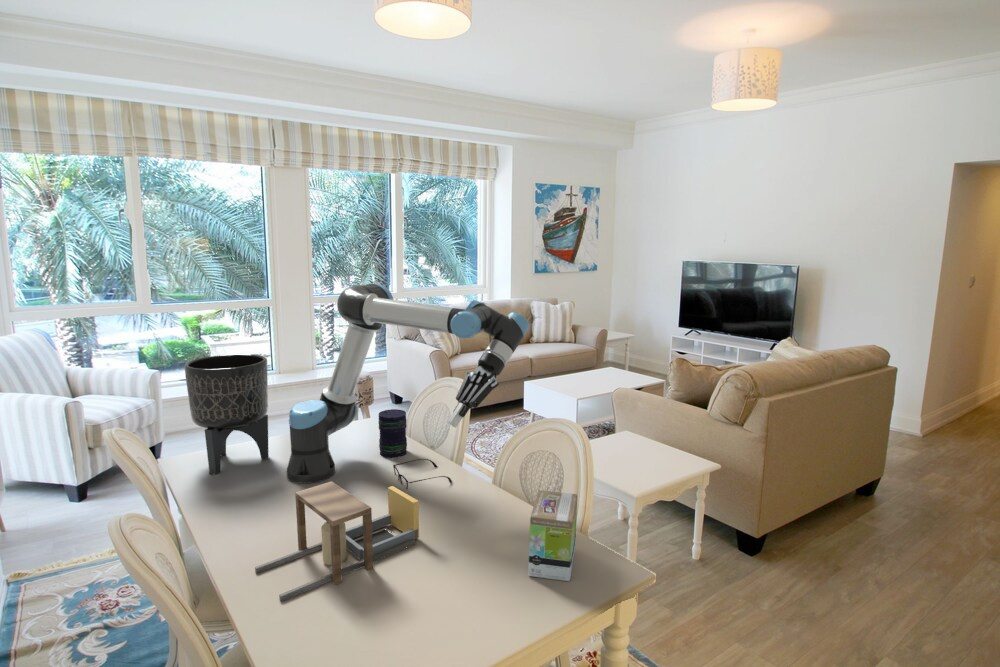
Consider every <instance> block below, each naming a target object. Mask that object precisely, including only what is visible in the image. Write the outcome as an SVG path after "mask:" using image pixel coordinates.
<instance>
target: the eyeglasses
mask: <svg viewBox="0 0 1000 667" xmlns="http://www.w3.org/2000/svg"><path fill="white" fill-rule="evenodd" d="M419 460H422V458H418V459H414V460H409V461H404V462H400V463H397V464H396V463H395V464H393V465H392V467H393V471H394V472H393V473H394V476H395V475H396V476H398V480H399V481H400V484H401V485H402V484H403V479H404V480H405V482H406V488H405V490H406V489H407V490H408V489H409V488H408V487H409V484H413V483H416V482H422V481H425V480H426V481H427V480H430V479H431V480H432V479H435V478H446V479H447V480H448V482H449V483H452V482H453V481H452V479H451V478H450V477H449V476H445V475H441V476H434V477H430V478H429V477H427V478H423V479H418V480H413V481H408V480H407V478H406V477H405V476H404V475H402V474H400V472H399V469H398V468H397V466H399V465H403V464H407V463H410V462H415V461H419ZM423 460H425V461H428V462H430V463H431V464H432V465H433V466H434V468H438V465H437V464H436V463H435V462H434V460H431V459H428V458H423ZM396 473H397V474H398V475H397V474H396ZM398 480H397V481H398ZM451 481H452V482H451Z"/></svg>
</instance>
